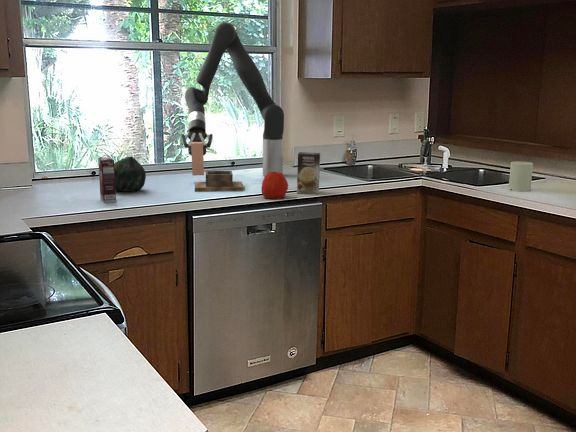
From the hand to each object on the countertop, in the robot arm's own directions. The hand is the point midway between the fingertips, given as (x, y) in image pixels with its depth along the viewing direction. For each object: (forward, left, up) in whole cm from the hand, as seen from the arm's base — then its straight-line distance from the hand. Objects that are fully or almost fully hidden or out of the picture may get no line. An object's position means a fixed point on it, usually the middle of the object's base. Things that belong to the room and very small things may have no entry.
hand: (197, 154), depth 276 cm
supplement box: (+33, +36, -13) cm, 51 cm away
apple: (-30, +34, -13) cm, 47 cm away
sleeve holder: (-9, +12, -13) cm, 20 cm away
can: (-137, +23, -13) cm, 139 cm away
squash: (+28, +16, -13) cm, 35 cm away
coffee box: (-45, +24, -13) cm, 53 cm away
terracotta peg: (0, -2, -9) cm, 9 cm away
